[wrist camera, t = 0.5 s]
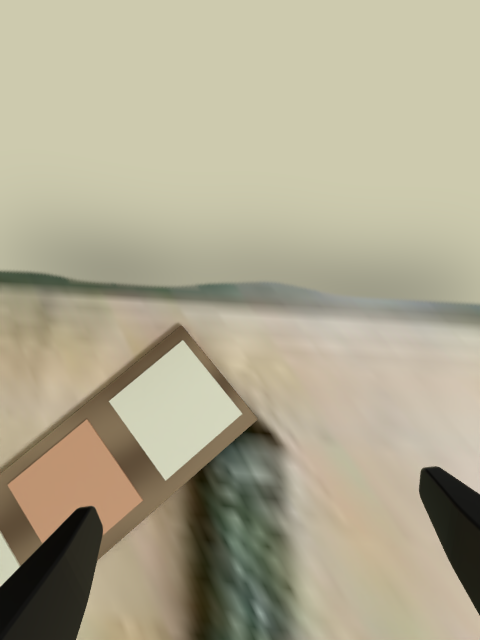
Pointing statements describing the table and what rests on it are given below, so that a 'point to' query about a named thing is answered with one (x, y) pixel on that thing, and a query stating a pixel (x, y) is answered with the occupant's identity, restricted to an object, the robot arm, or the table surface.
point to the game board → (122, 450)
